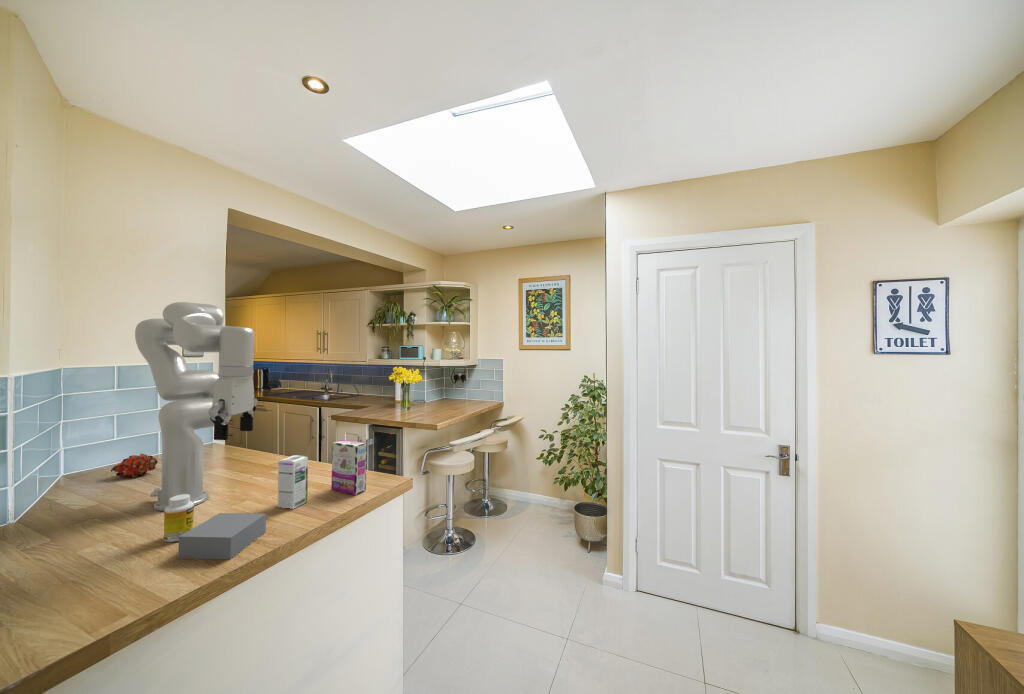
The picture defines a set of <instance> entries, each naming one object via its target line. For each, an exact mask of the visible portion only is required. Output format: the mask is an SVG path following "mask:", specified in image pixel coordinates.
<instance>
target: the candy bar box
mask: <svg viewBox="0 0 1024 694" xmlns="http://www.w3.org/2000/svg"><path fill="white" fill-rule="evenodd" d="M367 446H368V443H367V442H362V441H361V442H360V441H355V440H346V439H342V440H337V441H334V442H332V446H331V447H332V452H331V457H332V458H331V486H330V487H331V491H333V490H335V491H334V492H338V491H339V493H342V492H343V494H348V495H351V496H352V495H353V496H357V495H359V494H362V493H365V491H367V490H366V489H367V457H368V456H367V453H368V451H367V450H368V447H367Z"/></svg>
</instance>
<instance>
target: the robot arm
mask: <svg viewBox="0 0 1024 694" xmlns="http://www.w3.org/2000/svg"><path fill="white" fill-rule="evenodd" d="M162 317H163V318H148V319H143V320H141V321H140V322H139V323H137V324H136V326H135V331H134V338H135V343H136V346H137V348H138V352H140V354H141V355H142V357H143V358H144V359H145V361H146V362H147V364H148V365H149V367H150V371H151V374H152V377H153V378H152V379H153V381H154V383H155V384H154V385H155V388H156V390H157V393H158V396H159V397H160V398H161V399H162V400H164V401H167V403H165V404H164V405H163V406H161V408H160V409H159V410H158V411H159V412H158V422H159V428H160V432H161V434H160V435H161V441H162V444H161V487H155V488H154V490H153V491H152V492H150V494H149V496H150V497H152V498H153V497H154V498H155V497H157V501H155V502H154V503H153V509H155V510H156V511H160V512H164V511H165V508H166V507H167V506H169V499H170V498H172V497H174V496H177V495H183V494H189V495H190V501H191V502H193V503H194V506H197V505H199V504H202V503H203V502H205V501H207V500H208V499H209V497H210V495H209V492H208V491H204V490H203V489H204V488H203V487H204V486H203V484H204V441H203V440H202V438H201V437H200V436H198V434H196V432H195V430H200V429H206V428H211V427H212V428H213V440H215V441H227V440H228V439H229V423H228V422H229V421H230V420H231V417H233V416H234V417H235V416H236V415H241V416H240V419H239V423H240V424H239V431H240V432H252V431H253V430H254V416H255V411H256V409H257V405H258V402H259V400H258V399H257V398H256V397H255V388H254V386H255V385H254V378H253V377H254V353H255V332H254V329H252V328H251V327H246V326H232V325H231V326H230V325H224V321H225V319H224V313H223V311H222V309H221V308H219V307H218V306H216V305H213V304H207V303H200V302H199V303H197V302H186V301H178V302H172V303H170V304H168V305H167V306H165V308H163V311H162ZM170 346H178V347H180V348H181V349H183V350H185V351H187V352H191V353H218V373H217V372H216V371H214V370H210V369H195V370H192V369H191V368H188V364H187V361H186V359H185V357H183V355H181V354H180V353H179V352H178V351H177V350H175V349H174V348H171V347H170ZM168 401H169V402H168Z"/></svg>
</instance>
